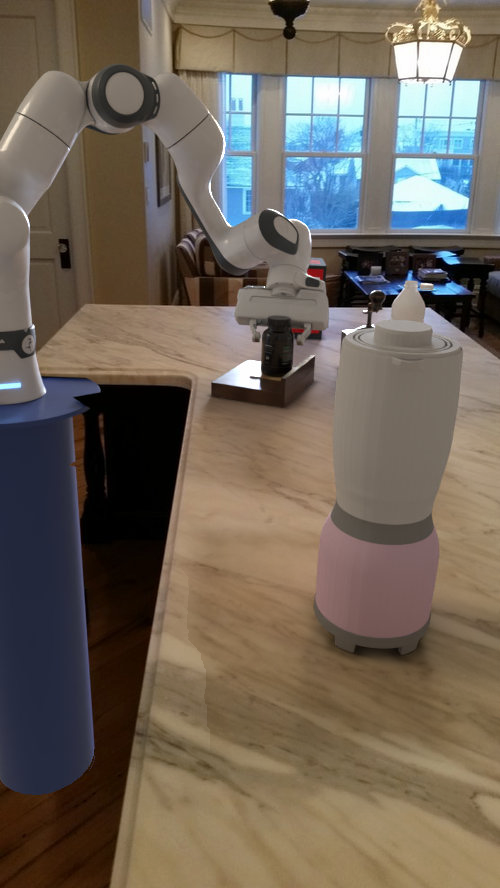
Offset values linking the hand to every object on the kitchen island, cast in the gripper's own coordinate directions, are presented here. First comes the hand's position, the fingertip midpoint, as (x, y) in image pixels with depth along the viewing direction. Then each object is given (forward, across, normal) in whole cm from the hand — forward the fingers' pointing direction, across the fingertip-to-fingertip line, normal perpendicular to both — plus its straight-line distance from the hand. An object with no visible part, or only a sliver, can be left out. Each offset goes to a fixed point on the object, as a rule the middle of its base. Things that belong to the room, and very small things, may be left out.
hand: (277, 342), depth 148 cm
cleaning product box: (-32, 0, +47) cm, 57 cm away
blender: (+63, +21, -48) cm, 82 cm away
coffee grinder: (-6, +18, +21) cm, 28 cm away
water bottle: (+11, +26, +4) cm, 29 cm away
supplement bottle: (+4, 0, +5) cm, 7 cm away
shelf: (+8, -2, +6) cm, 10 cm away
